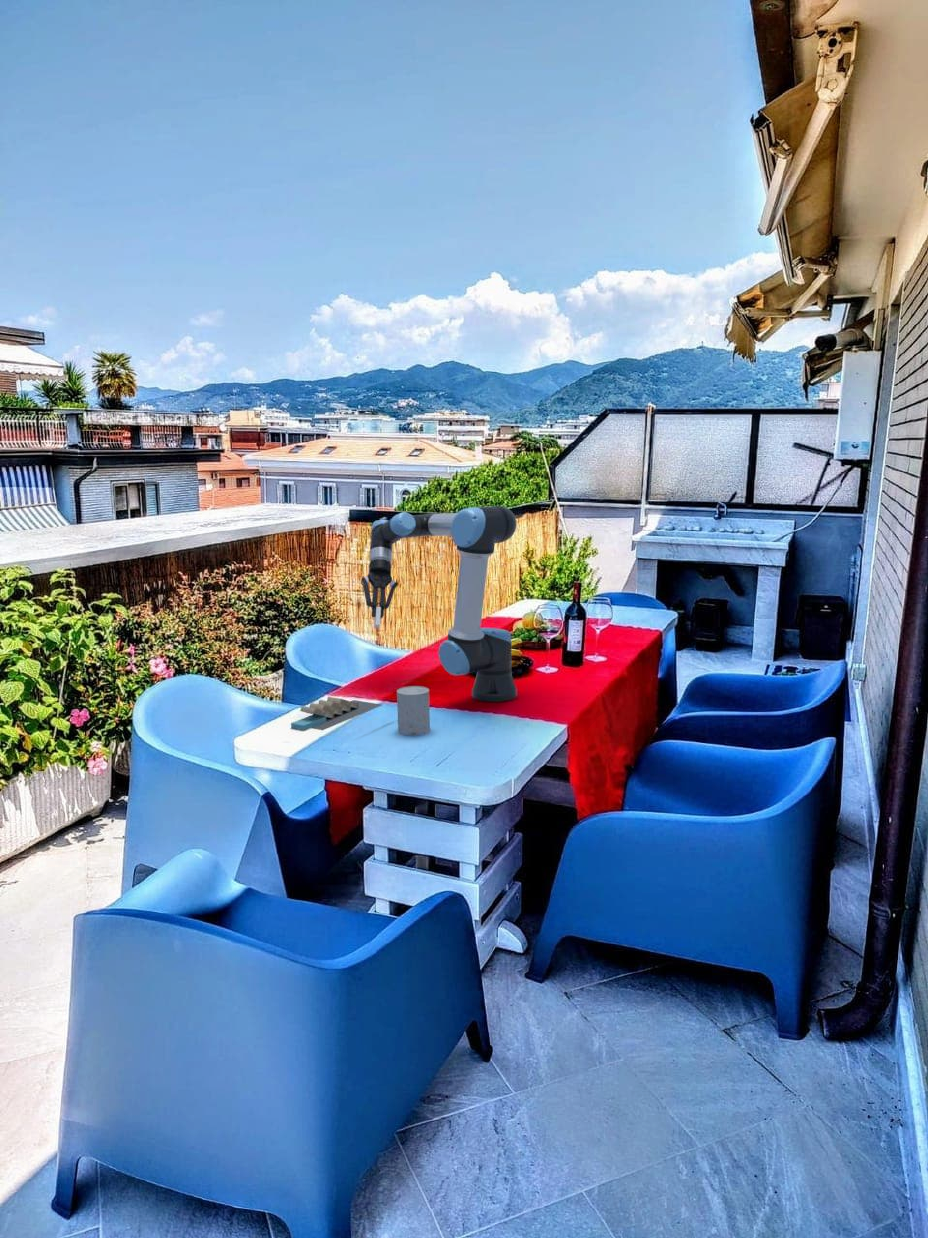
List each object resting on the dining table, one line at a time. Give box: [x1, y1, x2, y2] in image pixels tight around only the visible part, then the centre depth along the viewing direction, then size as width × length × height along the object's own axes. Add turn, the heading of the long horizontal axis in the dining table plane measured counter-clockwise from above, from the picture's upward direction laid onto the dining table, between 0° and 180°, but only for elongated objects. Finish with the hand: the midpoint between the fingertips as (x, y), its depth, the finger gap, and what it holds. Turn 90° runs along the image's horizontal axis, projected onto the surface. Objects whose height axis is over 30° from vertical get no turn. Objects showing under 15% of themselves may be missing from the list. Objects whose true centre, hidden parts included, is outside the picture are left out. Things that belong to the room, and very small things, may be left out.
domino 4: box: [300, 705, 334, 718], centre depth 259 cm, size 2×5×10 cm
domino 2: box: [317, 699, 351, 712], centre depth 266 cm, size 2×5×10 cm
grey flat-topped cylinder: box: [396, 685, 431, 737], centre depth 251 cm, size 10×10×12 cm
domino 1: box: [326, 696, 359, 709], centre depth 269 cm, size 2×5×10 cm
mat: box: [311, 699, 383, 731], centre depth 266 cm, size 30×12×1 cm, turn 149°
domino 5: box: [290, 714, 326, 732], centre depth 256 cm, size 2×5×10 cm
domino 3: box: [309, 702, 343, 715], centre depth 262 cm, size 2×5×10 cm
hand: (376, 626), depth 285 cm, fingers closed
